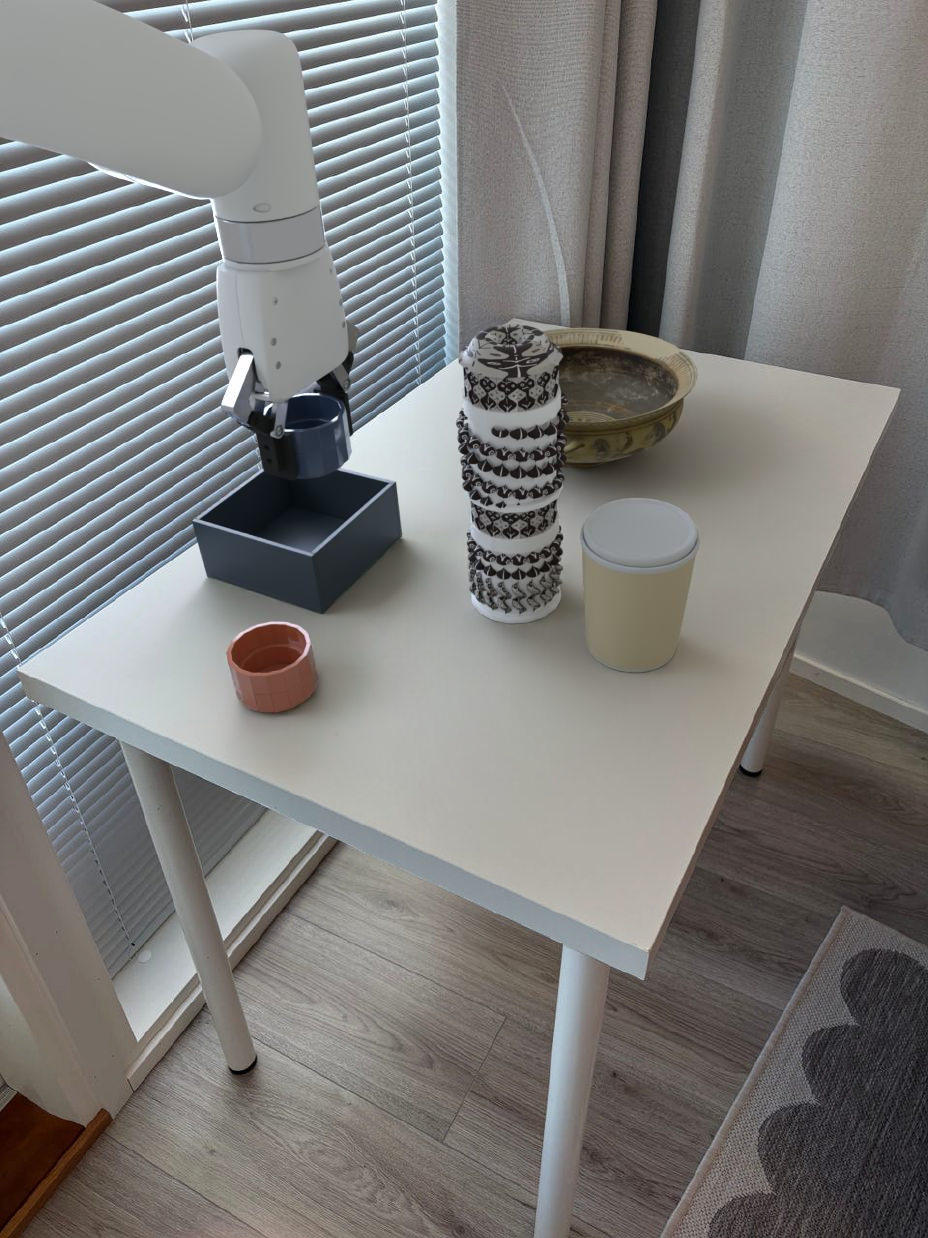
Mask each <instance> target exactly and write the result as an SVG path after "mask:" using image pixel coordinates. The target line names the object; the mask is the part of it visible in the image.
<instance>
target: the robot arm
mask: <svg viewBox="0 0 928 1238" xmlns="http://www.w3.org/2000/svg"><path fill="white" fill-rule="evenodd" d="M308 112H309V111H308V106H307V99H306V91H305V84H304V76H303V69H302V64H301V59H300V54H299V51H298V48H297V46H296V45H295V43H294V42H293V41H292V39H291V38H290V37H288V36H287V34H285V33H281V32H279V31H276V30H271V29H270V30H269V29H238V30H229V31H221V32H215V33H211V34H207V35H203V36H200V37H198V38H196V39H194V40H192V41H190V42H185V41H183V40H181V39H179V38H176V37H175V36H172V35H170V34H169V33H166V32H165V31H162V30H160V29H159V28H156V27H154V26H151V25H149V24H148V23H145V22H144V21H141V20H139V19H137V18H135V17H133V16H130V15H128V14H126V13H124V12H122V11H120V10H117V9H115V8H113V7H110V6H107V5H105V4H103V3H100V2H98V1H95V0H0V138H1V139H5V140H10V141H13V142H18V143H22V144H26V145H29V146H33V147H36V148H40V149H42V150H46V151H50V152H53V153H56V154H60V155H63V156H66V157H69V158H73V159H76V160H79V161H83V162H86V163H88V164H89V165H90V166H92V167H94V168H95V169H96V170H98V171H100V172H102V173H105V174H107V175H109V176H111V177H114V178H118V179H121V180H125V181H128V182H132V183H135V184H138V185H144V186H148V187H152V188H156V189H159V190H163V191H167V192H170V193H172V194H173V193H174V194H176V195H180V196H182V197H186V198H190V199H194V200H210V204H211V209H212V213H213V220H214V224H215V229H216V234H217V238H218V244H219V248H220V252H221V258H222V261H223V262H222V263H220V264H218V265H217V267H216V305H217V316H218V323H219V325H218V326H219V332H220V340H221V347H222V352H223V353H222V354H223V358H224V364H225V368H226V369H225V371H226V375H227V378H228V386H227V388H226V391H225V393H224V396H223V399H222V401H221V404H220V409H221V411H222V412H223V413H224V414H226V415H227V416H228V417H230V418H231V419H233V420H234V421H236V423H237V424H238V425H240V426H242V427H244V428H246V429H247V430H248V432H250V433H254V434H255V437H256V442H257V447H258V451H259V457H260V460H261V465H262V468H263V470H264V472H265V473H267V474H270V475H273V476H277V477H281V478H284V479H288V480H294V479H295V478H297V477H298V468H297V462H296V457H295V452H294V446H293V441H292V436H291V434H290V433H287V432H284V431H285V423H286V415H287V407H288V399H290V398H291V397H293V396H295V395H298V394H300V393H301V392H302V391H304V390H305V389H307V388H309V387H310V386H311V385H313V384H314V383H316V384H317V386H315V387H314V388H313V389H312V390H313V393H320V394H326V395H331V396H334V397H336V398H338V399H339V400H341V401H342V402H343V403H344V406H345V408H346V414H347V421H348V428H349V435H350V438H351V437H352V436H353V435H354V429H353V428H354V427H353V422H352V413H351V408H350V407H351V406H350V400H349V393H348V392H349V391H350V389H351V387H352V379H351V377H350V373H351V370H352V367H353V364H354V362H355V354H354V353H355V350H356V346H357V343H358V340H359V336H360V329H359V327H358V326H356V325H354V324H353V323H351V322H350V321H349V320H347V318H346V312H345V311H346V310H345V307H344V301H343V296H342V291H341V287H340V282H339V278H338V273H337V270H336V267H335V263H334V259H333V256H332V253H331V252H332V251H331V250H330V247H329V244H328V241H327V240H326V233H325V227H324V219H323V213H322V205H321V201H320V193H319V186H318V185H319V184H318V177H317V173H316V170H317V169H316V164H315V156H314V149H313V142H312V141H313V140H312V134H311V127H310V126H311V125H310V120H309V113H308ZM266 390H267V391H266ZM266 402H267V403H270V404H271V403H273V404H272V412H271V419H270V418H268V417H267V416H265V415H264V408H266Z"/></svg>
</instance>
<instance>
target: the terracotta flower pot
mask: <svg viewBox="0 0 928 1238" xmlns="http://www.w3.org/2000/svg"><path fill="white" fill-rule="evenodd" d="M310 637H311V636H310V634H309V633H308V631H307V630H305V629H304V628H303V627H302V626H301V625H299V624H295V623H292V622H289V621H268V622H263V623H259V624H255V625H252V626H250V627H249V628H247V629H245V630H242V631H240V633H238V634H237V635H236V636H235V637H234V638H233V639H232V640H231V641H230V643H229V645H228V647H227V649H226V651H225V655H226V661H227V666H228V669H229V672H230V676H231V679H232V684H233V687H234V690H235V694H236V697H237V700H238V701H239V702H240V703H241V704H242V705H243V706H244V707H246V708H248V709H250V710H253V711H256V712H259V713H260V712H261V713H269V714H271V713H281V712H285V711H289V710H291V709H294V708H296V707H297V706H299V705H301V704H303V703H304V702H306V701H307V700H308V699H309V697H311V695H313V693H314V692H315V691H316V689H317V685H318V683H319V674H318V669H317V665H316V660H315V654H314V650H313V649H314V648H313V645H312V641H311V638H310Z"/></svg>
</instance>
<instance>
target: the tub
mask: <svg viewBox="0 0 928 1238" xmlns="http://www.w3.org/2000/svg"><path fill="white" fill-rule="evenodd" d="M400 513H401V512H400V504H399V494H398V485H397V481H395V480H391V479H386V478H383V477H378V476H376V475H375V476H374V475H371V474H366V473H363V472H359V471H354V470H350V469H347V468H342V467H340V468H339V469H338V470H336V471H334V472H332V473H330V474H328V475H325V476H321V477H316V478H308V479H299V478H295V479H294V480H288V479H284V478H281V477H277V476H273V475H270V474H267V473H265V472H264V470H263V467H261V469H259V470H258V471H257V472H256V473H255V474H253V475H252V476H250V477H249V478H248V479H246V480H245V481H243V482H242V483H240V485H238V486H237V487H235V488H234V489H233V490H231V491H230V492H228V493H227V494H226V495H224V497H221V498H220V499H219V500H218V501H216V502H215V503H214V504H212V505H211V506H210V507H208V508H207V509H206V510H205V511H203V512H201V513H200V514H198V516H196V517H195V518H193V520H191V525H192V527H193V531H194V535H195V538H196V542H197V545H198V550H199V553H200V556H201V559H202V564H203V567H204V571H205V574H206V576H207V577H208V578H211V579H214V580H217V581H220V582H223V583H226V584H229V585H232V586H235V587H238V588H242V589H244V590H247V591H251V592H253V593H257V594H260V595H262V596H266V597H269V598H272V599H275V600H277V601H281V602H284V603H287V604H290V605H293V606H296V607H300V608H302V609H304V610H305V609H306V610H309V611H312V612H314V613H318V614H319V615H323V614H324V613H326V612H327V611H328V609H330V607H332V606H333V605H334V604H335V603H336V602H337V601H338V600H339V599H340V598H341V597H342V596H343V595H344V594H345V593H346V592H348V590H349V589H350V588H352V587H353V585H354V584H355V583H356V582H358V581H359V580H360V578H361V577H362V576H363V575H365V574H366V573H367V572H368V571H369V570H370V569H371V568H372V567H373V566H374V565H375V564H377V562H378V561H379V560H381V558H382V557H383V556H385V554H386V553H387V552H388V551H390V550H391V549H392V547H393V546H395V545H396V544H397V543H398V542H399V541H400V540H401V539H402V538H403V530H402V520H401V514H400Z"/></svg>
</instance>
